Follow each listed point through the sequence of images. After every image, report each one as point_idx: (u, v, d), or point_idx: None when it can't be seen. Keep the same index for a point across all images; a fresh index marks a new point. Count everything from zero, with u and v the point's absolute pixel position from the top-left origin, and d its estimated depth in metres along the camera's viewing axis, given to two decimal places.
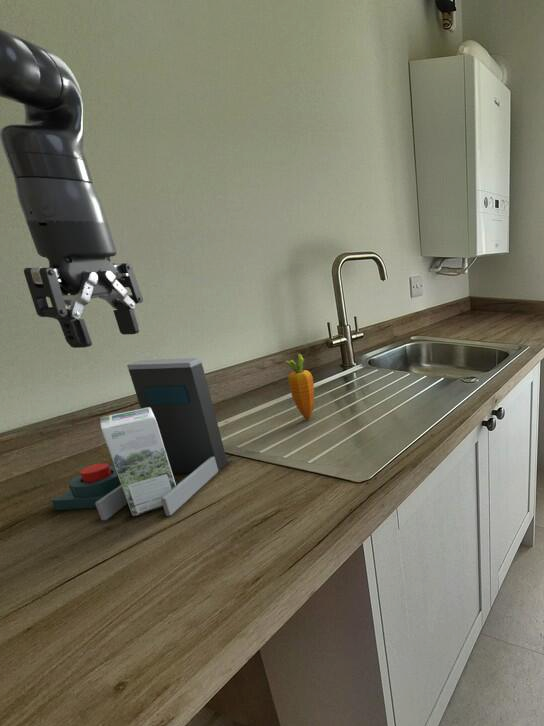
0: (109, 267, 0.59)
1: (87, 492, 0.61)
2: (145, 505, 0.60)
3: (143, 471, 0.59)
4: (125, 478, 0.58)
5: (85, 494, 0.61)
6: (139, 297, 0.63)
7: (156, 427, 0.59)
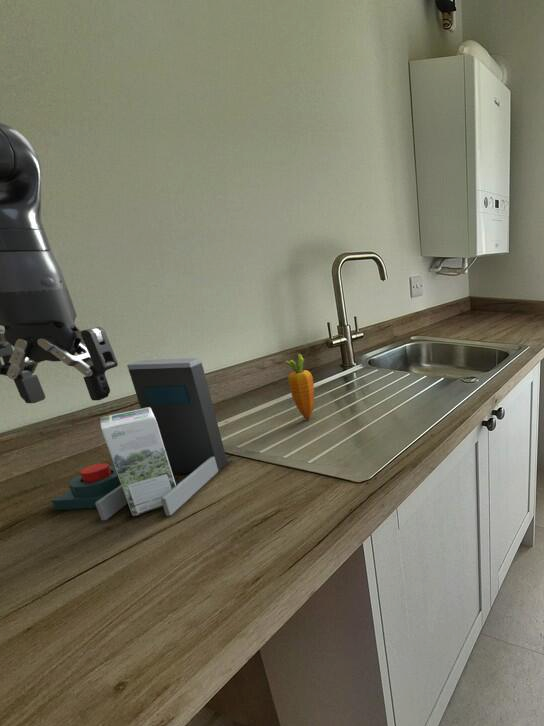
0: (59, 333, 0.56)
1: (87, 492, 0.61)
2: (145, 505, 0.60)
3: (143, 471, 0.59)
4: (125, 478, 0.58)
5: (85, 494, 0.61)
6: (97, 366, 0.57)
7: (156, 427, 0.59)
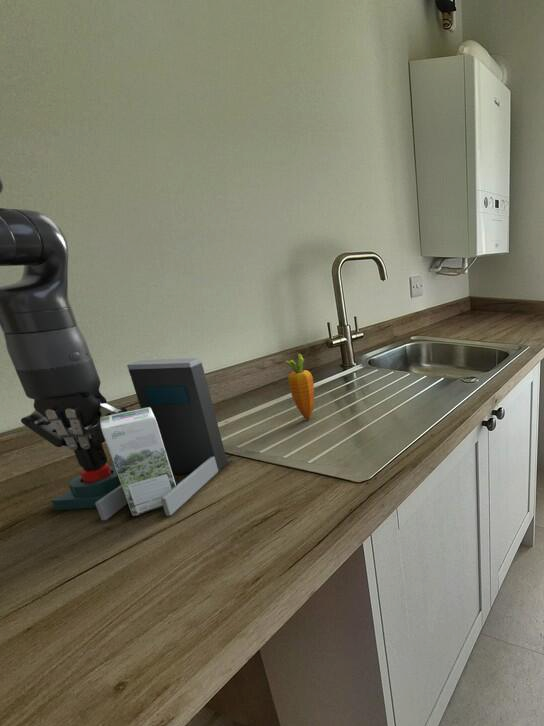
0: (85, 402, 0.59)
1: (87, 492, 0.61)
2: (145, 505, 0.60)
3: (143, 471, 0.59)
4: (125, 478, 0.58)
5: (85, 494, 0.61)
6: (96, 440, 0.61)
7: (156, 427, 0.59)
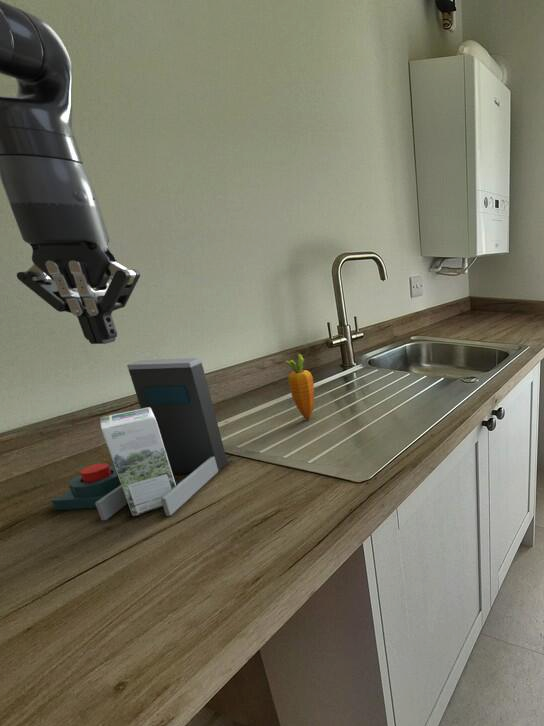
0: (91, 256, 0.51)
1: (87, 492, 0.61)
2: (145, 505, 0.60)
3: (143, 471, 0.59)
4: (125, 478, 0.58)
5: (85, 494, 0.61)
6: (104, 303, 0.52)
7: (156, 427, 0.59)
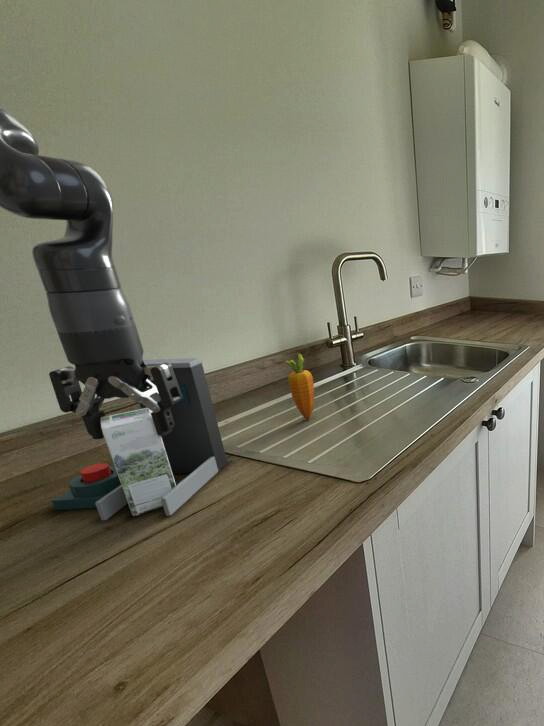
0: (128, 370, 0.55)
1: (87, 492, 0.61)
2: (145, 505, 0.60)
3: (143, 471, 0.59)
4: (125, 478, 0.58)
5: (85, 494, 0.61)
6: (165, 402, 0.57)
7: None
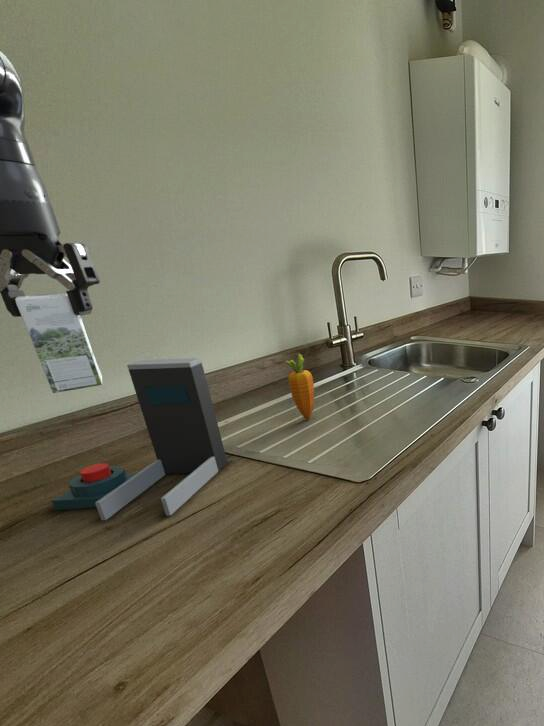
0: (42, 245, 0.58)
1: (87, 492, 0.61)
2: (65, 383, 0.63)
3: (61, 348, 0.62)
4: (42, 353, 0.61)
5: (85, 494, 0.61)
6: (79, 279, 0.60)
7: None
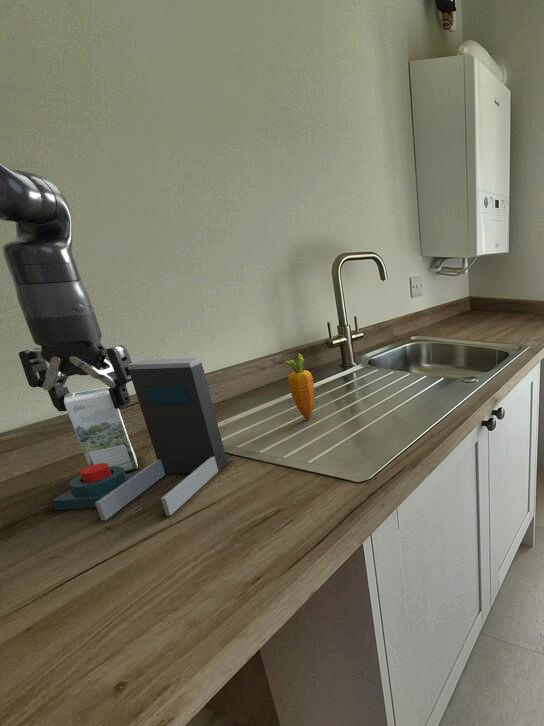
0: (87, 351, 0.65)
1: (87, 492, 0.61)
2: None
3: (103, 440, 0.68)
4: (86, 446, 0.67)
5: (85, 494, 0.61)
6: (120, 379, 0.66)
7: None
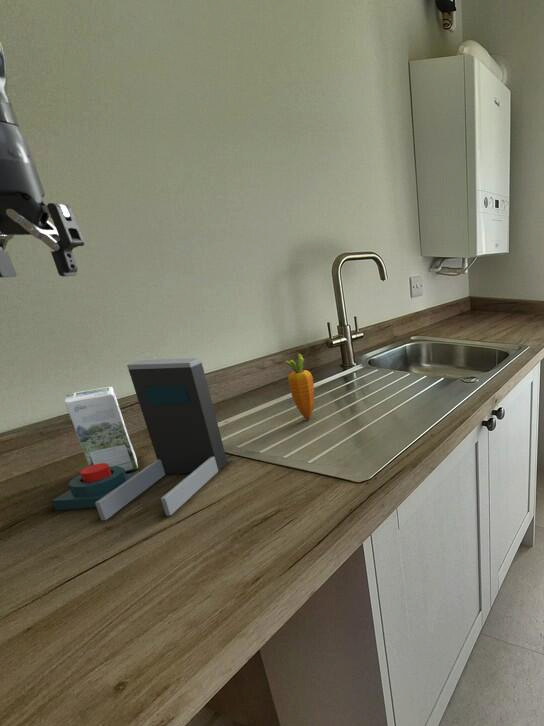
0: (26, 206, 0.59)
1: (87, 492, 0.61)
2: None
3: (103, 440, 0.68)
4: (87, 446, 0.67)
5: (85, 494, 0.61)
6: (63, 240, 0.61)
7: (114, 403, 0.68)
